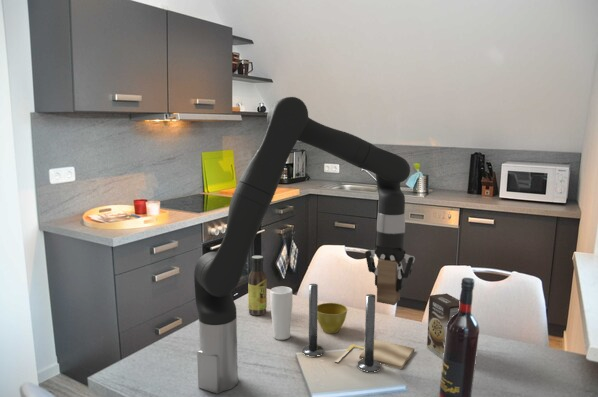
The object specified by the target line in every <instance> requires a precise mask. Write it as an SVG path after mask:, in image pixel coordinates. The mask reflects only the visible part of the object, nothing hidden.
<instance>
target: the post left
mask: <svg viewBox="0 0 598 397" xmlns="http://www.w3.org/2000/svg"><path fill="white" fill-rule="evenodd" d="M318 285H319V284H318V283H309V285H308V345H305V346H303V347H302V354H303V353H304V354H305V355H309V356H317V355H321V354H322V355H324V348H323V347H322V346H321V345H319V344H318V319H317V310H318V305H319V304H318V300H319V299H318V297H319V296H318V295H319V294H318V287H319V286H318ZM304 354H303V355H304ZM305 355H304V356H305ZM322 355H321V356H322Z"/></svg>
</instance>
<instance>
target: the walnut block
mask: <svg viewBox="0 0 598 397" xmlns="http://www.w3.org/2000/svg"><path fill="white" fill-rule="evenodd" d="M377 264H378V274H377V286H376V303H380V304H386V305H391V306H395V305H396V304H397V303H399V301H400V299H401V290H400V291H399V292H397V291H396V284H397V271H396V265H397V261H396V262H394V261H391V260H380V259H377ZM399 265H400V263H399V264H398V267H399Z"/></svg>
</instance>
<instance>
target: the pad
mask: <svg viewBox="0 0 598 397" xmlns="http://www.w3.org/2000/svg"><path fill="white" fill-rule="evenodd" d="M414 352H415V348H414V347H410V346H406V345H402V344H397V343H393V342H389V341H385V340H382V339H381V340H380V339H376V338H374V360H376V361H378V362H379V363H381V364H380V365H382V364H385V365H384V366H386V365H388V366H387V367H390V366H391V368H393V369H398V370H402V369H403V368H404V366H405V365H406V363H407V362H408V361H409V359H410V358H411V356H412V355H413V353H414ZM359 358H363V359H365V350H363V351H362V352H361V354H359Z"/></svg>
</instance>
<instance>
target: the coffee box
mask: <svg viewBox="0 0 598 397" xmlns="http://www.w3.org/2000/svg"><path fill="white" fill-rule="evenodd" d="M428 297H429V298H428V316H427V317H428V318H427V338H426V342H427V343H426V348H427V349H428V350H429V351H430V352H432V353H433V354H435V355H436V356H437V357H439V358H440V359H441V360H443V353H444V345H445V337H446V327H447V323H448V321H449V320H450V319H451V318H452V316H453V315H455V314H456V313H457V312H458V309H459V301H461V300H460V299H458V298H456V297H454V296H452V295H450V294H448V293H442V294H441V293H438V294H432V295H428Z"/></svg>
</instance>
